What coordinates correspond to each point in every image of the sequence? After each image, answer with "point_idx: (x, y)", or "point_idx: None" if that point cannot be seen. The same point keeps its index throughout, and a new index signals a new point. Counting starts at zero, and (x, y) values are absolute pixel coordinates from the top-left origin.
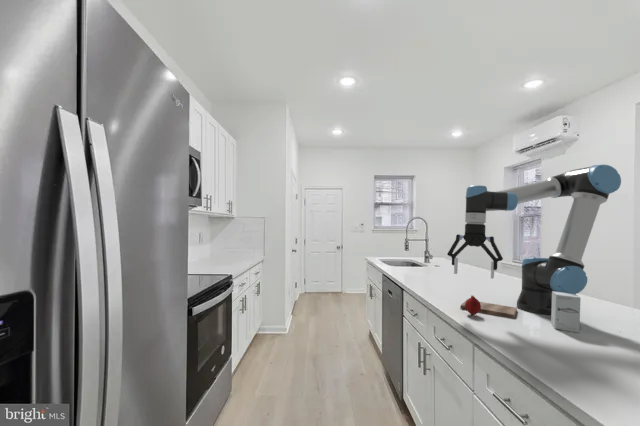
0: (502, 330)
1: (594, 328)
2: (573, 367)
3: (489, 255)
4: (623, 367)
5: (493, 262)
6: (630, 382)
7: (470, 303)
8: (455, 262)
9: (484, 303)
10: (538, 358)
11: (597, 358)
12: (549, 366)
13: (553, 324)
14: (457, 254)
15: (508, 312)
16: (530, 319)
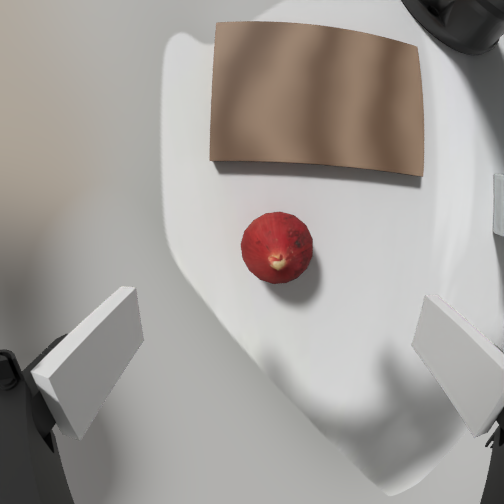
0: (369, 352)
1: None
2: (429, 437)
3: (487, 489)
4: None
5: (487, 425)
6: (467, 428)
7: (270, 282)
8: (94, 405)
9: (300, 41)
10: (394, 443)
11: None
12: (398, 454)
13: (498, 218)
14: (57, 466)
15: (405, 150)
16: (455, 151)
